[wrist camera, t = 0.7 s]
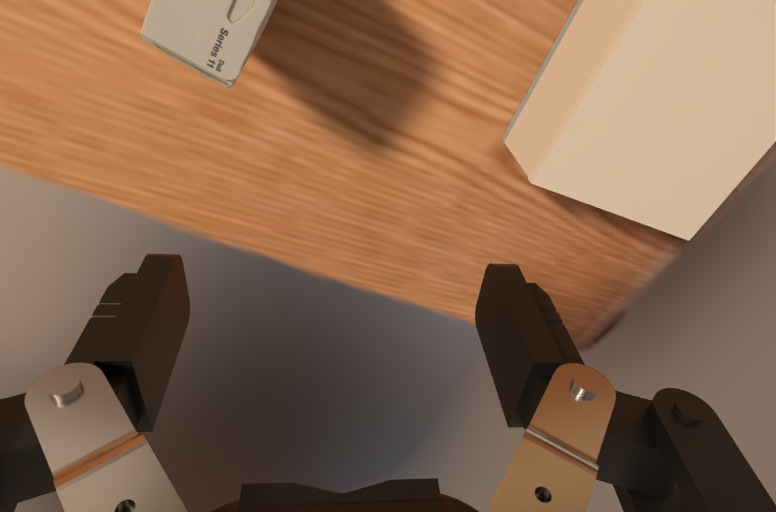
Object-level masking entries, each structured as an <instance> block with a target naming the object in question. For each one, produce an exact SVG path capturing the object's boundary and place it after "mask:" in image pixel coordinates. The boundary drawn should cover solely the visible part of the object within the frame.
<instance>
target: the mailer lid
mask: <svg viewBox="0 0 776 512" xmlns="http://www.w3.org/2000/svg"><path fill="white" fill-rule="evenodd" d="M775 141H776V0H636V2H635V3H634V5H633V7H632V8H631V10H630V12H629V13H628V15H627V17H626V18H625V20H624V21H623V23H622V25H621V26H620V28H619V30H618V31H617V33H616V35H615V36H614V38H613V39H612V41H611V43H610V44H609V46H608V48H607V49H606V51H605V52H604V54H603V56H602V57H601V59H600V61H599V62H598V64H597V66H596V67H595V69H594V70H593V72H592V74H591V75H590V77H589V79H588V80H587V82H586V84H585V85H584V87H583V88H582V90H581V92H580V93H579V95H578V97H577V98H576V100H575V101H574V103H573V105H572V106H571V108H570V110H569V111H568V113H567V115H566V116H565V118H564V119H563V121H562V123H561V124H560V126H559V128H558V129H557V131H556V133H555V134H554V136H553V137H552V139H551V141H550V142H549V144H548V146H547V147H546V149H545V150H544V152H543V154H542V155H541V157H540V159H539V160H538V162H537V164H536V165H535V167H534V168H533V170H532V172H531V173H530V175H529V177H528V180H529V181H530V182H531V184H534V185H537V186H540V187H542V188H545V189H548V190H551V191H553V192H556V193H559V194H562V195H564V196H567V197H570V198H573V199H575V200H578V201H581V202H584V203H586V204H589V205H592V206H595V207H597V208H600V209H603V210H606V211H608V212H611V213H614V214H617V215H619V216H622V217H625V218H628V219H630V220H633V221H636V222H639V223H641V224H644V225H647V226H650V227H652V228H655V229H658V230H661V231H663V232H666V233H669V234H672V235H675V236H677V237H680V238H683V239H686V240H688V241H689V240H690V239H691V238H692V237H693V236H694V235H695V234H696V232H697V231H698V230H699V229H700V228H701V227H702V225H703V224H704V223H705V222H706V221H707V220H708V219H709V217H710V216H711V215H712V214H713V213H714V212H715V210H716V209H717V208H718V207H719V206H720V205H721V204H722V202H723V201H724V200H725V199H726V198H727V197H728V195H729V194H730V193H731V192H732V191H733V190H734V189H735V187H736V186H737V185H738V184H739V183H740V182H741V181H742V179H743V178H744V177H745V176H746V175H747V174H748V172H749V171H750V170H751V169H752V168H753V167H754V166H755V164H756V163H757V162H758V161H759V160H760V159H761V157H762V156H763V155H764V154H765V153H766V152H767V151H768V149H769V148H770V147H771V146H772V145H773V144H774V142H775Z"/></svg>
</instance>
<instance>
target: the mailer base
mask: <svg viewBox="0 0 776 512" xmlns="http://www.w3.org/2000/svg"><path fill="white" fill-rule="evenodd" d="M635 2H636V0H578V1H577V3H576V5H575V6H574V8H573V10H572V12H571V14H570V15H569V17H568V19H567V21H566V23H565V24H564V26H563V28H562V30H561V32H560V33H559V35H558V37H557V39H556V41H555V42H554V44H553V46H552V48H551V50H550V51H549V53H548V55H547V57H546V59H545V61H544V62H543V64H542V66H541V68H540V70H539V71H538V73H537V75H536V77H535V79H534V80H533V82H532V84H531V86H530V88H529V89H528V91H527V93H526V95H525V97H524V98H523V100H522V102H521V104H520V106H519V107H518V109H517V111H516V113H515V115H514V116H513V118H512V120H511V122H510V124H509V125H508V127H507V129H506V131H505V133H504V134H503V136H502V140H503V141H504V143H505V144H506V146H507V147H508V148H509V150H510V151H511V153H512V154H513V156H514V157H515V158H516V160H517V161H518V163H519V164H520V166H521V167H522V168H523V170H524V171H525V173H526V174H527V176H528V177H529V175H530V173H531V172H532V170H533V168H534V167H535V165H536V164H537V162H538V160H539V159H540V157H541V155H542V154H543V152H544V150H545V149H546V147H547V146H548V144H549V142H550V141H551V139H552V137H553V136H554V134H555V133H556V131H557V129H558V128H559V126H560V124H561V123H562V121H563V119H564V118H565V116H566V115H567V113H568V111H569V110H570V108H571V106H572V105H573V103H574V101H575V100H576V98H577V97H578V95H579V93H580V92H581V90H582V88H583V87H584V85H585V84H586V82H587V80H588V79H589V77H590V75H591V74H592V72H593V70H594V69H595V67H596V66H597V64H598V62H599V61H600V59H601V57H602V56H603V54H604V52H605V51H606V49H607V48H608V46H609V44H610V43H611V41H612V39H613V38H614V36H615V35H616V33H617V31H618V30H619V28H620V26H621V25H622V23H623V21H624V20H625V18H626V17H627V15H628V13H629V12H630V10H631V8H632V7H633V5H634V3H635Z"/></svg>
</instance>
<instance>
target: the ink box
mask: <svg viewBox="0 0 776 512" xmlns="http://www.w3.org/2000/svg"><path fill="white" fill-rule="evenodd" d="M277 1H278V0H151V2H150V5H149V8H148V11H147V14H146V17H145V20H144V23H143V26H142V29H141V33H140V34H141V38H142V39H144V40H145V41H147V42H148V43H150V44H151V45H153V46H154V47H156V48H158V49H159V50H161V51H162V52H164V53H166V54H167V55H169V56H171V57H172V58H174V59H175V60H177V61H179V62H180V63H182V64H184V65H186V66H187V67H189V68H191V69H193V70H195V71H196V72H198V73H200V74H202V75H204V76H205V77H207V78H209V79H211V80H213V81H215V82H216V83H218V84H220V85H222V86H224V87H226V88H228V87H231V86H233V84H234V83H235V81H236V79H237V77H238V76H239V74H240V72H241V70H242V69H243V67H244V65H245V63H246V62H247V60H248V58H249V57H250V55H251V53H252V51H253V50H254V48H255V46H256V44H257V43H258V41H259V39H260V37H261V35H262V33H263V31H264V29H265V27H266V25H267V23H268V21H269V19H270V17H271V14H272V12H273V10H274V8H275V6H276V3H277Z"/></svg>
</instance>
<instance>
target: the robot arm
mask: <svg viewBox="0 0 776 512" xmlns="http://www.w3.org/2000/svg"><path fill="white" fill-rule="evenodd" d="M99 303H100V304H99V305H98V306H97V307H96V309H95V311H94V313H93V314H92V318H90V320H89V322H88V323H87V325H86V327H85V329H84V330H83V332H82V334H81V336H80V338H79V339H78V341H77V343H76V345H75V347H74V348H73V350H72V352H71V354H70V356H69V357H68V359H67V361H66V363H65V364H64V365H62V366H59V367H56V368H55V369H52V370H50V371H48V372H46V373H45V374H43V375H42V376H40V377H39V378H38V379H37V380H36V381H35V382H34V383H33V384H32V385H31V386H30V387H29V389H28V391H27V392H26V393H24V394H20V395H17V396H13V397H9V398H4V399H0V512H14V510H15V508H16V506H17V503H18V502H22V501H24V500H28V499H31V498H34V497H38V496H40V495H44V494H47V493H51V492H54V491H57V493H58V496H59V498H60V501H61V503H62V506H63V508H64V510H65V512H187V510H186V509H185V507H184V505H183V503H182V502H181V500H180V498H179V497H178V495H177V493H176V491H175V490H174V488H173V486H172V484H171V483H170V481H169V479H168V477H167V476H166V474H165V473H164V471H163V469H162V467H161V465H160V463H159V462H158V460H157V458H156V457H155V455H154V453H153V451H152V450H151V448H150V446H149V445H148V443H147V441H146V439H145V438H144V436H143V435H142V434H141V433H140V434H138V433H137V432H152V431H153V428H154V425H155V422H156V419H157V416H158V413H159V410H160V407H161V404H162V401H163V398H164V395H165V392H166V389H167V386H168V383H169V379H170V377H171V374H172V371H173V368H174V364H175V362H176V359H177V356H178V352H179V350H180V347H181V344H182V341H183V338H184V335H185V332H186V329H187V325H188V322H189V315H190V300H189V294H188V288H187V283H186V277H185V272H184V266H183V261H182V258H181V256H180V255H176V254H147V255H146V257H145V259H144V260H143V262H142V264H141V266H140V268H139V270H138V272H137V274H135V273H134V274H133V273H124V274H123V275H122V276H121V277H119V278H118V279H117V280H116V281H115V282H113V283H112V284H111V285H110V286H109V287H108V288H107V290H106V291H105V293H104V295H103V296H102V298H101V300H100V302H99ZM475 321H476V327H477V331H478V333H479V337H480V340H481V343H482V346H483V349H484V353H485V356H486V359H487V362H488V365H489V368H490V371H491V375H492V377H493V381H494V384H495V387H496V390H497V393H498V397H499V400H500V403H501V406H502V409H503V412H504V415H505V419H506V422H507V425H508V427H524V429H525V433H524V435H523V437H522V439H521V441H520V443H519V445H518V447H517V449H516V451H515V453H514V455H513V457H512V460H511V462H510V464H509V466H508V468H507V470H506V472H505V474H504V476H503V478H502V480H501V483H500V484H499V486H498V489H497V491H496V493H495V495H494V497H493V499H492V501H491V503H490V505H489V507H488V509H487V511H486V512H586V508H587V505H588V502H589V499H590V496H591V492H592V489H593V485H594V483H595V480H600V481H603V482H607V483H610V484H613V486H614V489H615V491H616V494H617V496H618V499H619V501H620V504H621V506H622V509H623V511H624V512H776V505H775V503H774V502H773V500H772V499H771V497H770V496H769V494H768V493H767V491H766V489H765V488H764V486H763V485H762V483H761V482H760V480H759V479H758V477H757V476H756V474H755V473H754V471H753V470H752V468H751V466H750V465H749V463H748V462H747V460H746V459H745V457H744V456H743V454H742V453H741V451H740V450H739V448H738V447H737V445H736V443H735V442H734V440H733V439H732V437H731V436H730V434H729V433H728V431H727V430H726V428H725V427H724V425H723V423H722V422H721V420H720V419H719V417H718V416H717V414H716V413H715V412H714V410H713V409H712V408H711V407H710V406H709V405H708V404H707V403H706V402H704V401H703V400H702V399H700V398H698V397H697V396H695V395H693V394H691V393H689V392H687V391H683V390H680V389H675V388H666V389H662V390H660V391H658V392H657V393H656V395H655V396H654V398H653V399H652V401H651V400H647V399H644V398H640V397H636V396H632V395H628V394H624V393H621V392H618V391H615V390H614V388H613V386H612V384H611V383H610V381H609V380H608V379H607V378H606V377H605V376H604V375H603V374H601V373H600V372H598V371H597V370H595V369H593V368H591V367H589V366H586V365H585V364H584V363H583V361H582V359H581V357H580V355H579V353H578V351H577V349H576V347H575V345H574V343H573V341H572V339H571V337H570V335H569V334H568V332H567V330H566V328H565V326H564V324H562V320H561V318H560V316H559V314H558V313H556V308H555V306H554V305H553V303H552V301H551V299H550V297H549V295H548V294H547V293H545V292H544V291H543V290H542V289H541V288H540V287H539V286H538V285H537V284H536V283H526V281H525V278H524V276H523V274H522V272H521V270H520V268H519V266H518V265H516V264H489V265H488V266H487V268H486V271H485V274H484V278H483V282H482V286H481V289H480V293H479V297H478V301H477V305H476V311H475ZM211 512H478V511H477V510H476V509H474V508H473V507H471V506H469V505H468V504H466V503H464V502H462V501H460V500H458V499H455V498H453V497H450V496H447V495H444V494H440V491H439V484H438V479H437V478H436V479H401V480H389V481H385V482H382V483H378V484H375V485H372V486H368V487H365V488H361V489H358V490H354V491H351V492H348V493H335V492H331V491H327V490H322V489H318V488H314V487H309V486H305V485H300V484H296V483H261V484H242V488H241V495H240V500H237V501H234V502H231V503H228V504H226V505H224V506H221V507H219V508H217V509H215V510H213V511H211Z"/></svg>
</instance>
